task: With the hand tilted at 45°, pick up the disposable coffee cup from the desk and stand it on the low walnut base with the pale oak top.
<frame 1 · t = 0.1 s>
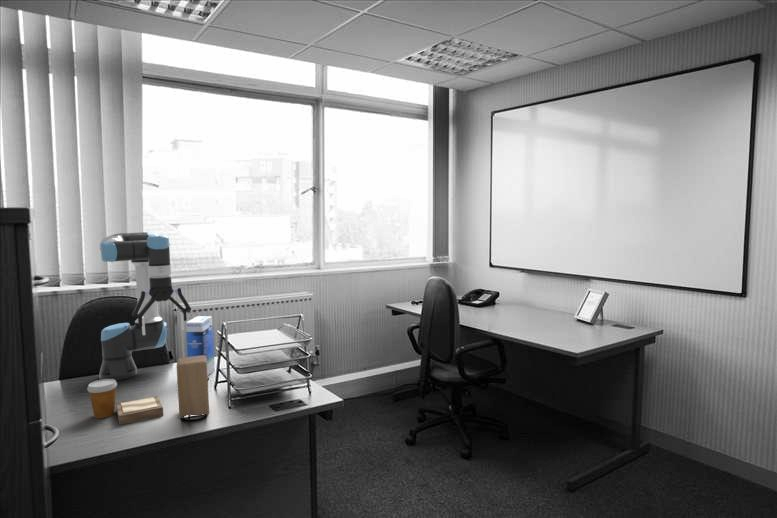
hand: (163, 332, 190), 28 cm above the table, tool pointing down, fingers open, 13 cm apart
walnut base: (139, 413, 183), on the table
string lights box: (202, 375, 226), on the table
block: (194, 413, 182), on the table
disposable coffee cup: (104, 415, 182), on the table
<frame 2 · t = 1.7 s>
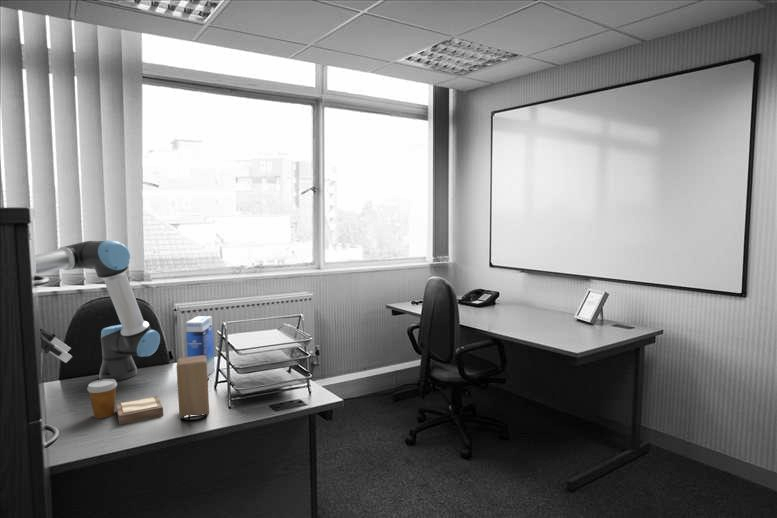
hand: (68, 355, 174), 24 cm above the table, tool tilted 45°, fingers open, 13 cm apart
nothing on the table moved.
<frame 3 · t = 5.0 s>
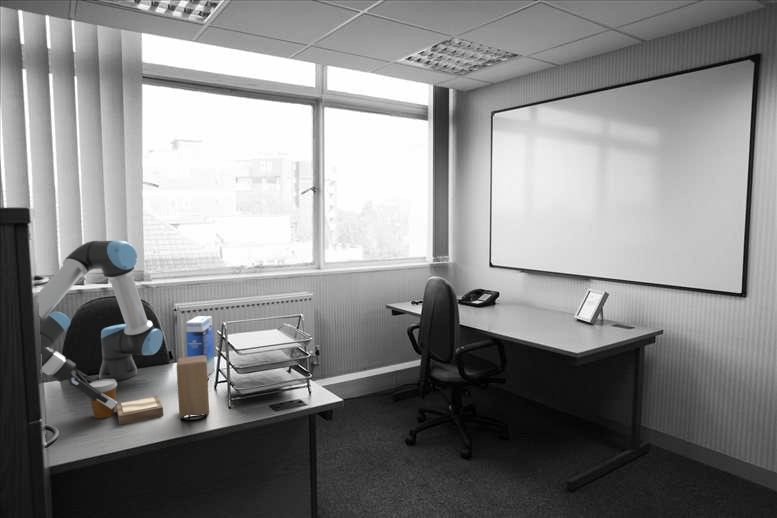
hand: (113, 401, 183), 4 cm above the table, tool tilted 45°, fingers closed on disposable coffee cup, 9 cm apart
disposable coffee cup: (104, 415, 182), on the table, touching gripper
everything else where it was.
when the fingers open (9 cm above the table, at t = 9.0 s): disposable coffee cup drops 1 cm, resting on walnut base.
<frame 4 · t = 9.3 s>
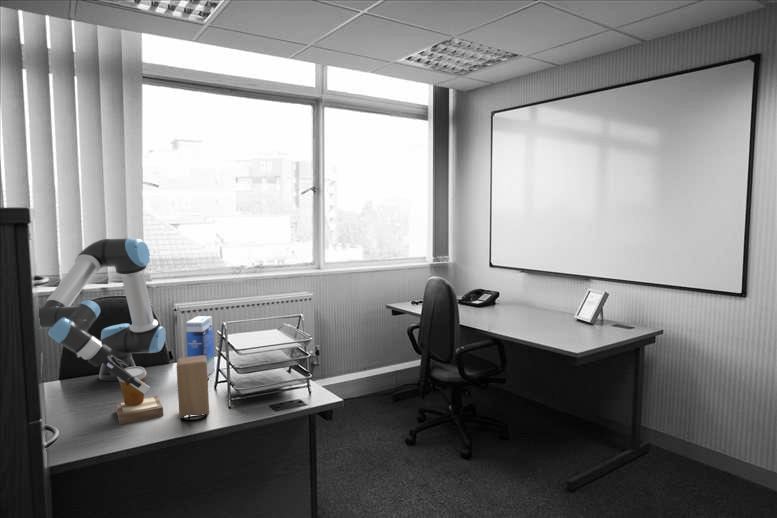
hand: (145, 385, 183), 10 cm above the table, tool tilted 45°, fingers open, 13 cm apart
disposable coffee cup: (134, 402, 184), point 4 cm above the table, touching gripper, walnut base
everything else where it was.
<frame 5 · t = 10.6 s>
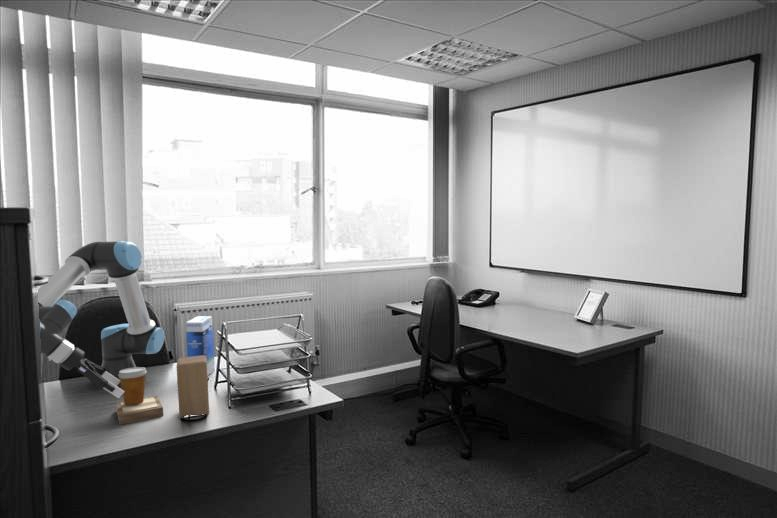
hand: (119, 389, 178), 10 cm above the table, tool tilted 45°, fingers open, 13 cm apart
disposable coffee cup: (134, 402, 184), point 3 cm above the table, touching walnut base
everything else where it was.
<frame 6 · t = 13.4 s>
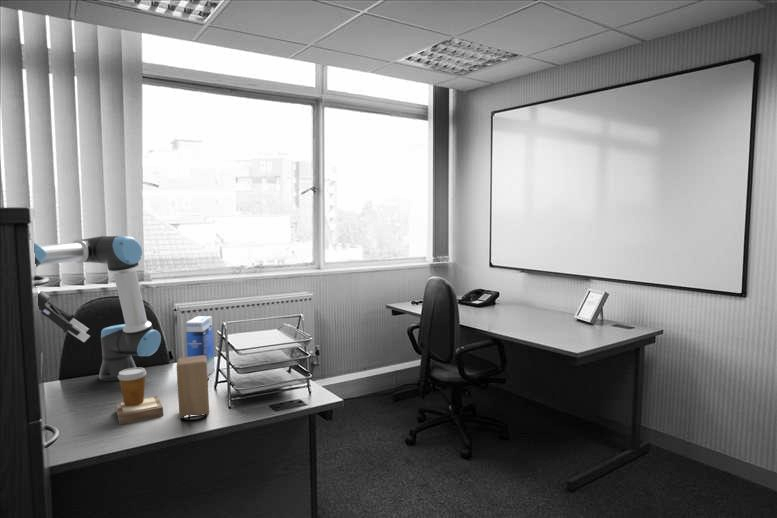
hand: (86, 335, 179), 30 cm above the table, tool tilted 45°, fingers open, 13 cm apart
at the end: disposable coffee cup inside the target area on the walnut base (3.5 cm from its centre), point 3.1 cm above the walnut base's base; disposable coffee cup tilted 0°; the gripper is holding nothing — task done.
